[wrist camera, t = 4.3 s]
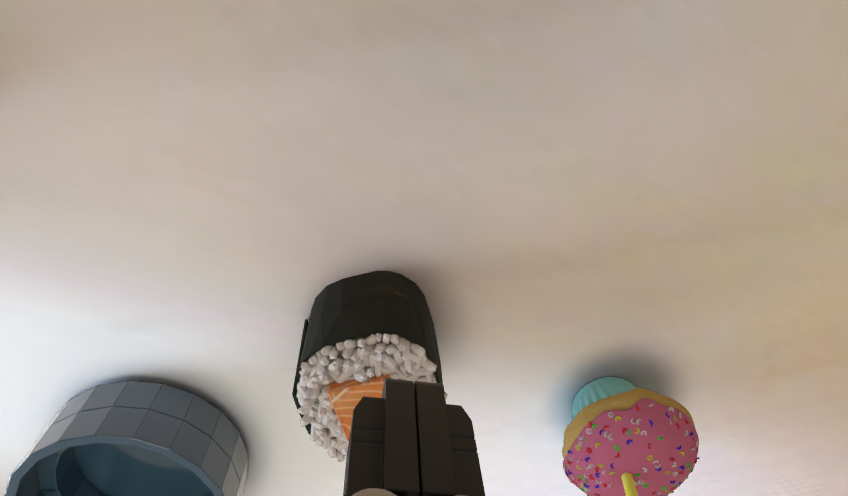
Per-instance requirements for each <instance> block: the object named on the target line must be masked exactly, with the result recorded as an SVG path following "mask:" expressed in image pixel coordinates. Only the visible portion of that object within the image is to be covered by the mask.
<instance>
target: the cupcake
mask: <svg viewBox="0 0 848 496" xmlns="http://www.w3.org/2000/svg"><path fill="white" fill-rule="evenodd" d="M698 446H699V440H698V435H697V432H696V430H695V426H694V422H693V419H692V417H691V415H690V413H689V412H688V410H687V409H686V408H685V407H684V406H682V405H681V404H680V403H678V402H676V401H675V400H673V399H671V398H669V397H667V396H664V395H661V394H658V393H656V392H653V391H650V390H647V389H643V388H637V387H635V386H634V385H633V384H632V383H630V382H629V381H627V380H625V379H622V378H618V377H604V378H600V379H597V380H594V381H592V382H590V383H588V384H587V385H585V386H584V387H583V388H582V389H581V390H580V391H579V392H578V393H577V395H576V396H575V398H574V400H573V404H572V422H571V423H570V424H569V425H568V426H567V428H566V429H565V433H564V446H563V450H562V453H563V458H564V461H563V468H564V471H565V473H566V475H567V477H568V478H569V480H570V482H571V483H573V484H575V485H576V486H577V487H578V488H579V489H581V490H582V491H583V492H585V493H586V494H587V496H668V494H669V493H673V492H674V491H673V490H675V489H676V488H677V487H679V486H680V485H681V484H682V483H683V482H684V480H685V479H687V478H688V475H689V473H691V472H692V471H693V468H694V465H695V463H696V462H697V459H699V457H698V458H697V454H698Z"/></svg>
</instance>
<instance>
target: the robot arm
mask: <svg viewBox="0 0 848 496" xmlns="http://www.w3.org/2000/svg"><path fill="white" fill-rule="evenodd" d="M343 496H485V492H484V486H483V481H482V475H481V470H480V464H479V459H478V453H477V448H476V442H475V440H474V431H473V426H472V421H471V419H470V418H469V416H468V415H467V413H466V412H465V411H464V409H463V408H462V406H458V405H448V404H446V401H445V394H444V386H443V384H440V383H430V382H420V381H415V382H414V383H413V381H410V380H400V379H390V378H385V380H384V385H383V391H382V397H381V398H376V397H365V396H363V397H362V398H361V400H360V401H359V403H358V404H357V405H356V407H355V408H354V410H353V417H352V424H351V431H350V437H349V444H348V451H347V459H346V470H345V481H344V492H343Z"/></svg>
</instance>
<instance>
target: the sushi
mask: <svg viewBox="0 0 848 496" xmlns="http://www.w3.org/2000/svg"><path fill="white" fill-rule="evenodd" d="M385 378H390V379H400V380H410V381H413V383H414V382H415V381H420V382H430V383H440V384H443V383H442V372H441V363H440V358H439V352H438V347H437V341H436V336H435V330H434V324H433V321H432V318H431V315H430V312H429V308H428V305H427V302H426V299H425V296H424V294H423V293H422V292H421V290H420V289H419V288H418V286H417V285H416V283H414V282H412V281H411V280H409V279H408V278H406V277H404V276H403V275H401V274H397V273H393V272H389V271H376V272H371V273H367V274H363V275H359V276H354V277H350V278H346V279H342V280H340V281H338V282H335V283H333V284H331V285H329V286H326V288H325V289H324V290H323V291H322V292H321V293H320V294H319V295H318V296H317V297H316V299H315V301H314V304H313V307H312V310H311V314H310V319H309V323H308V320H307V319H306V320H305V324H304V329H303V335H302V341H301V347H300V353H299V359H298V364H297V370H296V376H295V382H294V388H293V394H292V395H293V398H294V401H295V404H296V407H297V410H298V411H297V412H299V414H300V416H301V418H302V419H301V423H300V424H301V425H302V426H303V427H304V426H305V427H306V429H307V431H308V433H309V434H310V435H311V436H310V439H311V440H312V441H314V442H315V441H316V443H317V445H319V446H323V447H324V448H327V452H328V455H329V456H330V458H335V457H336V456H337V458H338V461H339V462H341V461H343V460H344V456H346V459H347V451H348V444H349V437H350V431H351V424H352V417H353V410H354V408H355V407H356V405H357V404H358V403H359V401H360V400H361V398H362V397H363V396H365V397H376V398H381V397H382V391H383V385H384V380H385ZM444 394H445V399H446V397H447V393H445V392H444Z"/></svg>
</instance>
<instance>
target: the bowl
mask: <svg viewBox="0 0 848 496" xmlns="http://www.w3.org/2000/svg"><path fill="white" fill-rule="evenodd" d="M247 468H248V454H247V451H246V448H245V446H244V443H243V440H242V438H241V435H240V433H239V431H238V430H237V429H236V428H235V427H234V426H233V424H232V423H231V422H230V421H229V420H228V419H227V417H226V416H225V415H224V414H223V413H222V412H221V411H220V410H218V409H217V408H215V407H214V406H212V405H211V404H209V403H207V402H206V401H204V400H203V399H201V398H200V397H198V396H197V395H194V394H192V393H189V392H186V391H183V390H180V389H177V388H174V387H171V386H168V385H165V384H160V383H149V382H137V381H125V382H119V383H113V384H107V385H101V386H96V387H94V388H92V389H90V390H88V391H86V392H84V393H82V394H80V395H78V396H76V397H74V398H72V399H70V400H69V401H68V403H67V404H66V405H65V406H64V407H63V408H62V409H61V410H60V411H59V412H58V413H57V414H56V415H55V416H54V418H53V419H52V420H51V422H50V423H49V424H48V426H47V427H46V428H45V430H44V431H43V432H42V434H41V435H40V436H39V438H38V439H37V440H36V442H35V443H34V444H33V446H32V447H31V448H30V450H29V451H28V452H27V454H26V455H25V456H24V458H23V459H22V460H21V462H20V463H19V464H18V466H17V467H16V468H15V470H14V471H13V472H12V474H11V476H10V479H9V482H8V486H7V489H6V492H5V495H4V496H242V493H243V490H244V486H245V482H246V479H247Z"/></svg>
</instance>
